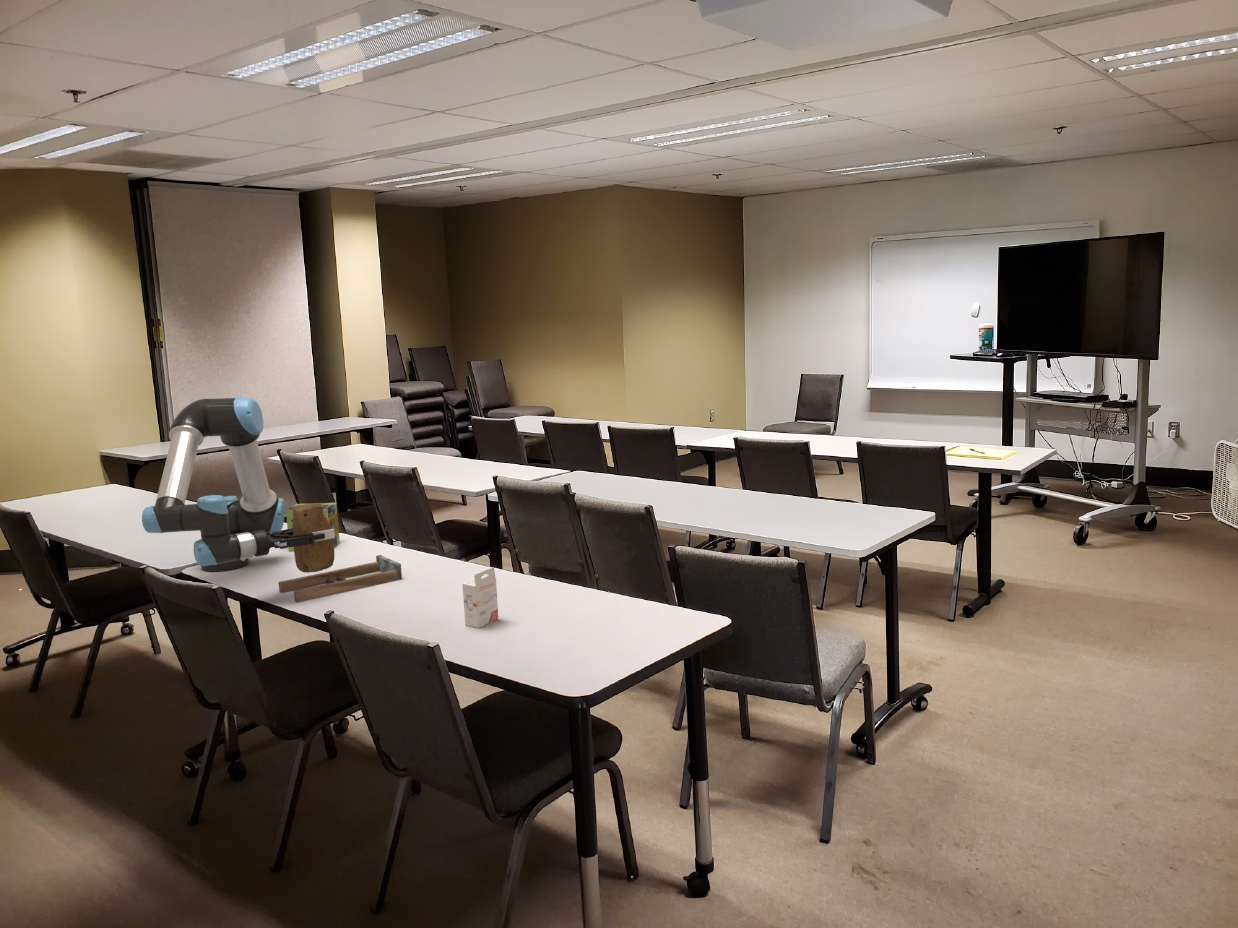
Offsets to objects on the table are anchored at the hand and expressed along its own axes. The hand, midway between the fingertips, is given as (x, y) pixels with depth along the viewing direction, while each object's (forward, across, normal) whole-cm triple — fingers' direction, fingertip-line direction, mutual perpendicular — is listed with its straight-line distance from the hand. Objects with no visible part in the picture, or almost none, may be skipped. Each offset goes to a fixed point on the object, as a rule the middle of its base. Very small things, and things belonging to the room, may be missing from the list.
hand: (328, 531), depth 282 cm
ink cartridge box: (+18, +60, -18) cm, 65 cm away
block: (-5, 0, -11) cm, 12 cm away
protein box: (+14, -54, -18) cm, 59 cm away
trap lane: (+3, -1, -18) cm, 18 cm away
